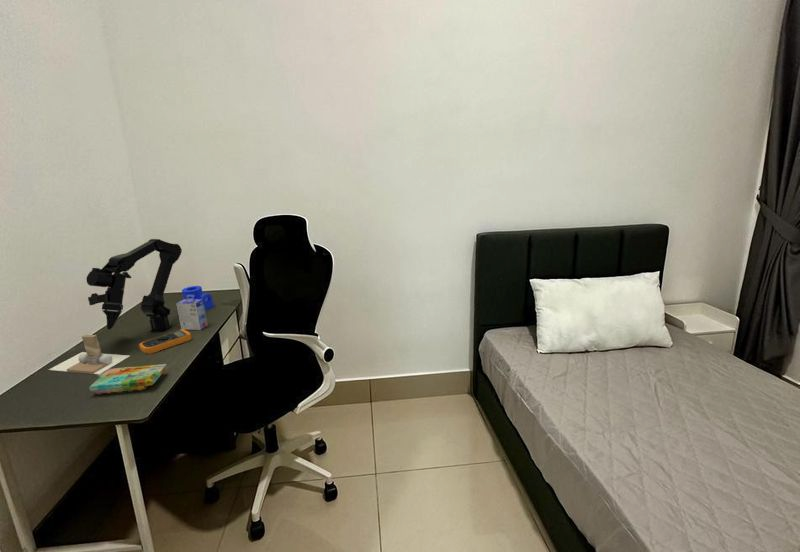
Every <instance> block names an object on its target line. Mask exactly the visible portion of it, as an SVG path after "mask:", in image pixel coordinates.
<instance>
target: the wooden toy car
mask: <svg viewBox="0 0 800 552" xmlns="http://www.w3.org/2000/svg"><path fill="white" fill-rule="evenodd" d="M97 336H98V335H97V334H83V335H82V336H81V339H82V342H83V345H84V348H85V349H84V350H85V352H86V353H87V357H86V361H87V362H88V364H92V365H99V364H100V362H99V358H100V357H101V356H102V355H104V354H105V353H102V350H101V347H100V342H99V340H98V337H97Z"/></svg>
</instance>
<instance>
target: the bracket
mask: <svg viewBox="0 0 800 552" xmlns="http://www.w3.org/2000/svg"><path fill="white" fill-rule="evenodd" d="M181 292H182V293H181V294H182V300H186V297H187V295H194V299H203V303H204V308H205V311H207V310H209V309H213V308H215V304H214V299H213V296H212V294H210V293H206V292H204V293H203V287H202V286H201V285H192V286H191V285H190V286H187V287H184V288H183V289H181ZM188 298H193V297H191V296H190V297H188Z"/></svg>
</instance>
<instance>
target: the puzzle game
mask: <svg viewBox="0 0 800 552" xmlns="http://www.w3.org/2000/svg"><path fill="white" fill-rule="evenodd" d="M167 368H168V364H167V363H163V364H151V365H149V364H148V365H140V366H126V367H113V369H112V368H109V369H107V370H106V372H105V371H104V372H105V373H104V374H103V375H102V376H100V377H98V378H97V379H96V380H95V381H94V382H93V383H92V384H91V385H90V386H89V387H88V388H89V389H88V390H89V391H90V392H92V393H93V394H95V395H102V394H101V393H107V394H112V393H111V392H117V393H123V392H122V391H128V392H134V391H133V390H138V391H143V390H142V389H145V390H146V389H147V387H148V386H153V385H154V384H155V383H156V382H157V381H158V379H159V378H160V377H161V375H163V374H164V372H165V371H166V369H167Z"/></svg>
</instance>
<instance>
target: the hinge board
mask: <svg viewBox="0 0 800 552" xmlns="http://www.w3.org/2000/svg"><path fill="white" fill-rule="evenodd" d="M103 354H104V355H102V356H101V357H100V358H99V362H100V364H99V365H92V364H88V362H87V361H86V357H87V353H86V351H81V352H80V353H78V354H75V355H74V356H72V357H70V358H68V359H66V360H65V361H62V362H60V363H58V364H56V365H55V366H53V367H51V368H49V369H48V370H49V371H55V372H56V371H58V372H69V373H81V374H93V375H94V374H95V377H98V378H100V377H101V376H102V375H103V374H104V373H105V372H106V371H107V370H108V369H113V368H114V367H115V365H117V364H119V363H121V362H123V361H124V360H126V359H127V358H129V357H130V355H128V354H127V355H126V354H124V355H123V354H114V353H113V354H112V353H103ZM112 367H113V368H112Z"/></svg>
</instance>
